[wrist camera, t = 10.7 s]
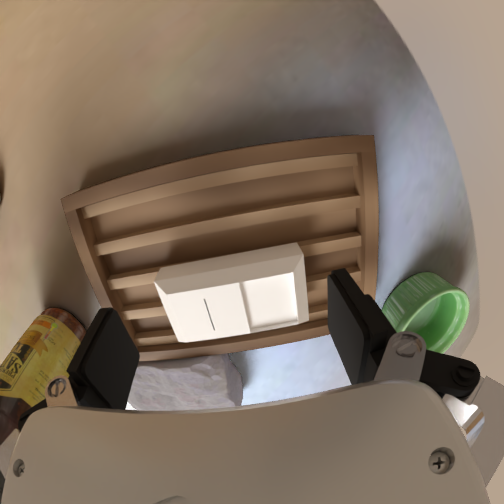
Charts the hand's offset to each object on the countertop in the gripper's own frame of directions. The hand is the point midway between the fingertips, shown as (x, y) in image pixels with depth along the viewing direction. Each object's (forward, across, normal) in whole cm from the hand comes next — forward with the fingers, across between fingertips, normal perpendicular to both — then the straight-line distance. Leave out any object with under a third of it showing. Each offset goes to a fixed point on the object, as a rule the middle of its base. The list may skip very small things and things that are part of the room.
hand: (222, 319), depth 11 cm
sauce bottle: (+8, +18, +6) cm, 21 cm away
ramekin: (+8, -16, +10) cm, 21 cm away
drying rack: (+8, 0, +1) cm, 8 cm away
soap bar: (+7, 0, +3) cm, 7 cm away
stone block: (+9, +7, +13) cm, 17 cm away
